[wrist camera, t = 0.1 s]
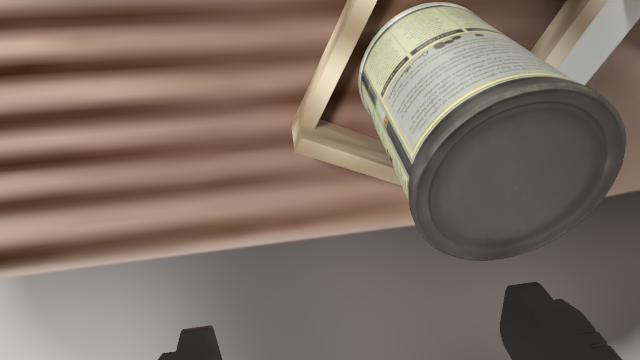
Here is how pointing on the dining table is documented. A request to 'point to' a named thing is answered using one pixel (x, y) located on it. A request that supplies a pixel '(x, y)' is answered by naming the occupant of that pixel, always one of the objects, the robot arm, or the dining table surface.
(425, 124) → the coffee can
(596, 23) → the empty strip
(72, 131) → the dining table surface
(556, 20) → the frame
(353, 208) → the dining table surface
